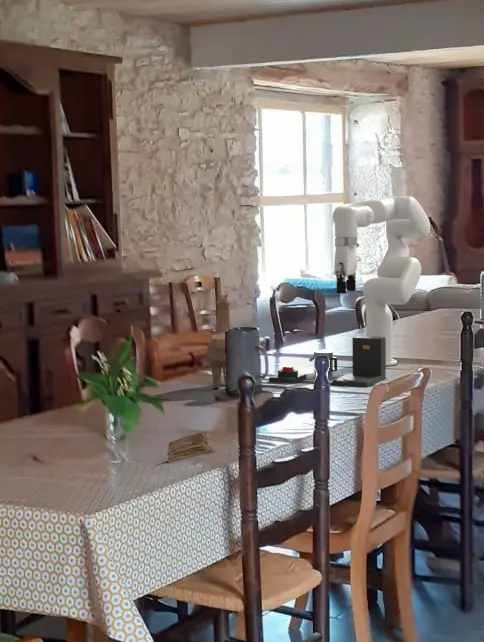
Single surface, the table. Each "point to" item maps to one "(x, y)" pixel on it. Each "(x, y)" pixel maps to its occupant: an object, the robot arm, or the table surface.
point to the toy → (219, 340)
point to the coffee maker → (366, 362)
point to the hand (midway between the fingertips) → (346, 292)
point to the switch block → (287, 377)
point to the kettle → (331, 358)
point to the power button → (287, 368)
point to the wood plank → (188, 446)
